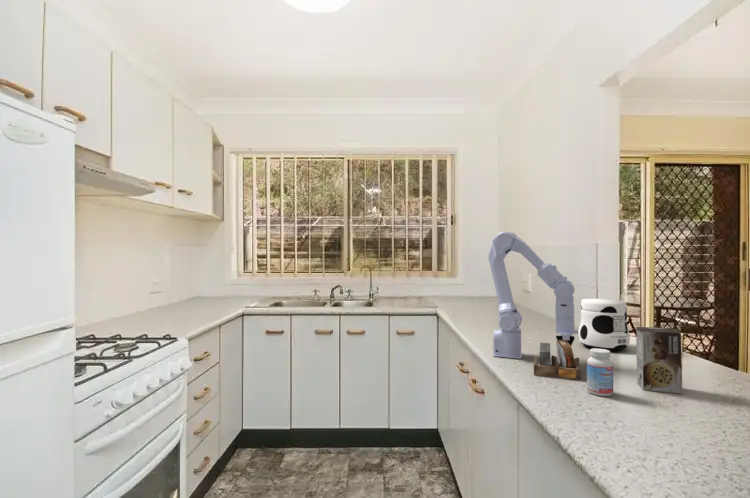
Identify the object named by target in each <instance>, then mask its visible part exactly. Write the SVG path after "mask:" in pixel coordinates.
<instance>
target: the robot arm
mask: <svg viewBox="0 0 750 498" xmlns="http://www.w3.org/2000/svg"><path fill="white" fill-rule="evenodd" d="M510 252H515V253H519V254H521V255H522V256H523V257H524V259H526V260H527V261H528V262H529V263H530V264H531V265H532V266H533V267H535V269H536V270H537V276H538V277H539V278H540V279H541V280H542V281H543V282H544V284H546V285H547V286H548V287H549V289H552V290H553V293H554V294H553V295H554V296H555V329H554V332H555V333H556V334H559V335H555V338H556V341H557V340H567V342H568V343H569V344H570V345H571V346H572V345H573V343H574V341H575V336H574V334H578V331H579V329H578V330H577V329H575V303H574V300H575V299H574V293H575V291H576V290H575V286H574V284H573V283H572V281H570V280H568V277H567V276H564V275H563V274H562V273H561V272H560V271H558V269H557V268H558V267H557V265H555V264H552V263H549V262H548V263H545V262H544V260H542V258H541V257H540V256H539V255H538V254H537V253H536V252H535V251H534V250H533V248H531V247H530V245H528V244H527V243H526V242H525V241H524V240H523V239H522V238H520V237H518V235H517V234H515V233H514V232H510V231H509V232H508V231H500V232H498V233H497V234H495V237H494V238H493V239H492V243H491V246H490V250H489V252H488V257H487V258H488V263H489V266H490V270H491V271H490V272H491V275H492V276H491V277H492V280H493V284H494V288H495V291H496V296H497V297H496V298H497V300H498V314H499V318H498V326H499V327H500V328H499V329H494V330H493V345H492V346H493V348H492V350H493V357H496V358H497V357H498V358H506V359H507V358H509V359H519V360H520V359H523V355H524V352H522V329H521V327H520V326H521V324H522V322H523V318H522V314H521V313H520V312H519V311H518V308H517V305H516V304H515V302H514V299H513V294H512V290H511V285H510V281H509V276H508V273H507V269H506V266H505V260H504V259H505V258H506V257H507V255H508V254H509V253H510Z"/></svg>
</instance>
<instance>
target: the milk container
mask: <svg viewBox="0 0 750 498" xmlns="http://www.w3.org/2000/svg"><path fill="white" fill-rule="evenodd" d="M627 322H628V307H627V302H626V301H624V300H621V299H613V298H612V299H611V298H610V299H609V298H583V299H581V302H580V323H579V327H578V333H577V334H578V340H579V342H580V344H582V345H583V346H585V347H588V348H591V349H593V348H598V349H605V350H609V351H619V350H624V349H626V348H628V347H629V345H630V341H631V335H630V331H629V327H628V323H627Z"/></svg>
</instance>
